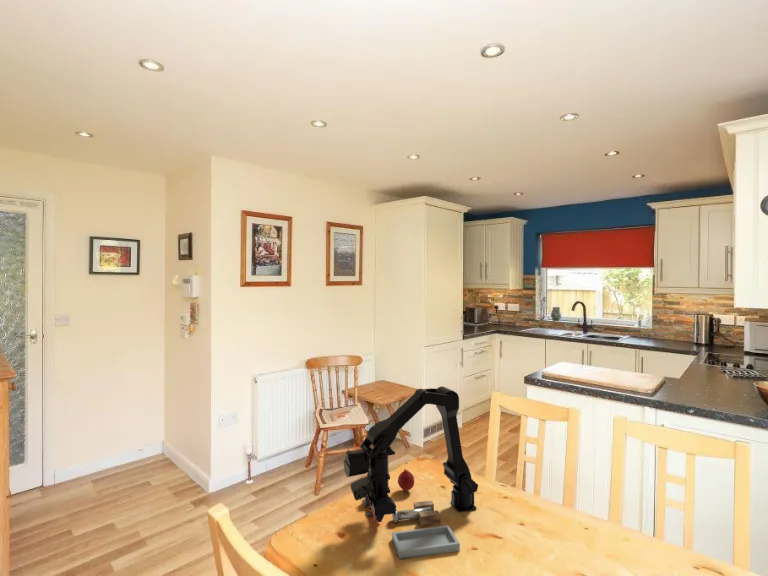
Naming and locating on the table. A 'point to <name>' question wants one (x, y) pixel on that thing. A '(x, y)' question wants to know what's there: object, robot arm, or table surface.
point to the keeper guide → (367, 504)
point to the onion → (406, 480)
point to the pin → (408, 514)
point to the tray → (425, 542)
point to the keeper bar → (373, 512)
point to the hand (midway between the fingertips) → (379, 521)
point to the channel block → (427, 514)
